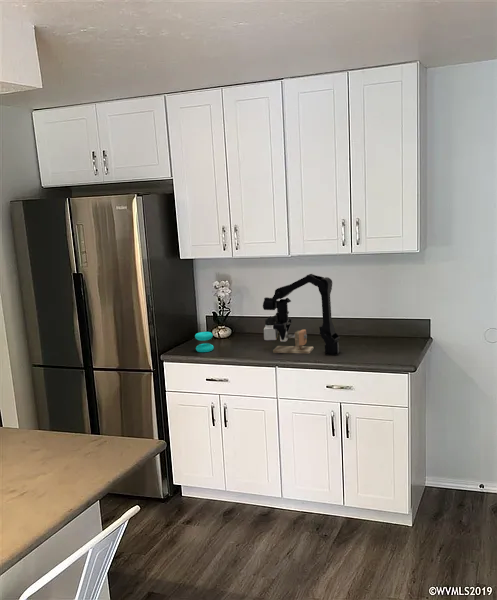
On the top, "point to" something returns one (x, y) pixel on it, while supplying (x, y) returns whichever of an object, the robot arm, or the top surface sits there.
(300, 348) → the bracket
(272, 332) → the medicine bottle
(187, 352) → the top surface
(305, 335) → the shaft
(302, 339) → the spacer
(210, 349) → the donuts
